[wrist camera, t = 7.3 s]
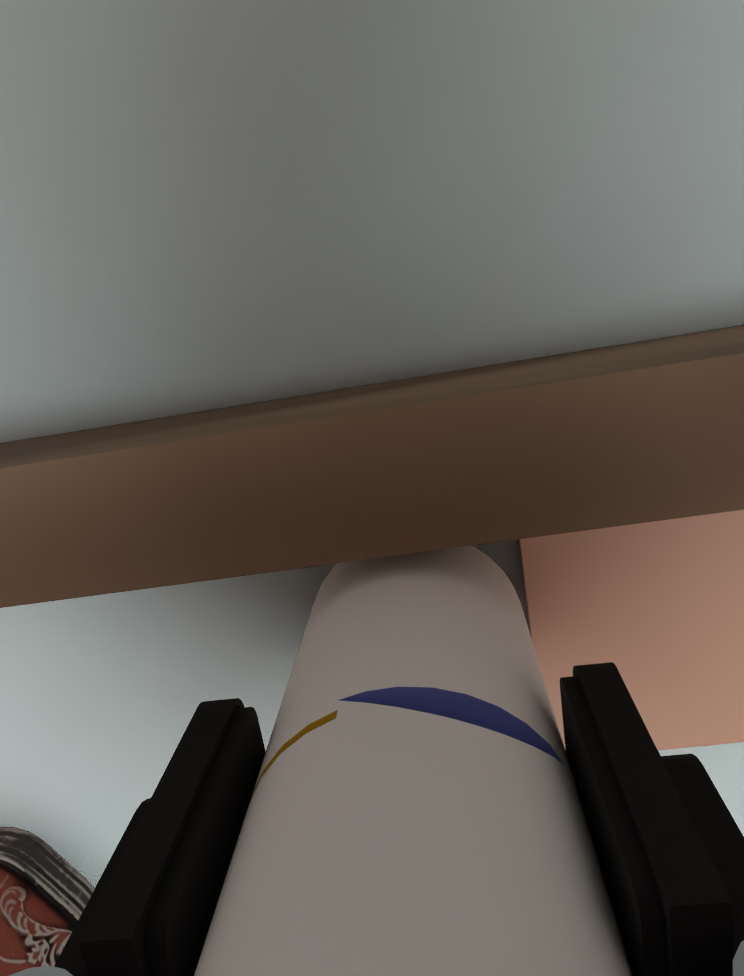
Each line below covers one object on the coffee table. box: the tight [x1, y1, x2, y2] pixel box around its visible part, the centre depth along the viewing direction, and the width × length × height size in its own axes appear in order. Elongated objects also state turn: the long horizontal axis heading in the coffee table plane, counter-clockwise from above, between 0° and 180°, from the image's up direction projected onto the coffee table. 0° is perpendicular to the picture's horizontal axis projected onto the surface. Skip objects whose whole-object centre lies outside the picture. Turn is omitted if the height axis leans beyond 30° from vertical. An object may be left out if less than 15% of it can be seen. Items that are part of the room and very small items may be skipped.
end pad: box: [519, 510, 744, 750], centre depth 14 cm, size 6×7×1 cm
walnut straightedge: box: [0, 325, 744, 608], centre depth 13 cm, size 2×24×3 cm, turn 99°
